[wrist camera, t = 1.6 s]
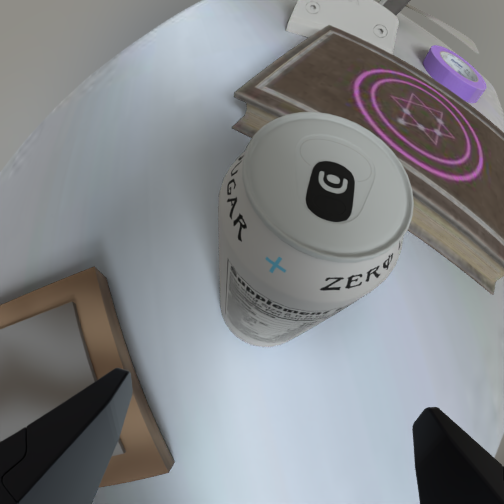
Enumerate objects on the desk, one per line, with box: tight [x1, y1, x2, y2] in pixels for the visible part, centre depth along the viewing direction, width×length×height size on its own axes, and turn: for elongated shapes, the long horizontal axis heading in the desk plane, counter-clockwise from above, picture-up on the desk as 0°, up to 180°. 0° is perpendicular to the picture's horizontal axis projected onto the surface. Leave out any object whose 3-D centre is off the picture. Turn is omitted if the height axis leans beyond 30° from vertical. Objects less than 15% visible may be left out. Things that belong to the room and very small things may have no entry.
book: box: [232, 25, 504, 295], centre depth 28 cm, size 30×22×5 cm
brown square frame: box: [0, 266, 174, 487], centre depth 16 cm, size 14×14×3 cm
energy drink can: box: [218, 112, 414, 347], centre depth 15 cm, size 6×6×15 cm
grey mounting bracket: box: [286, 0, 399, 55], centre depth 35 cm, size 17×5×10 cm, turn 70°
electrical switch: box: [379, 0, 410, 16], centre depth 43 cm, size 9×5×9 cm, turn 145°
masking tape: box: [423, 45, 486, 103], centre depth 37 cm, size 12×12×4 cm
